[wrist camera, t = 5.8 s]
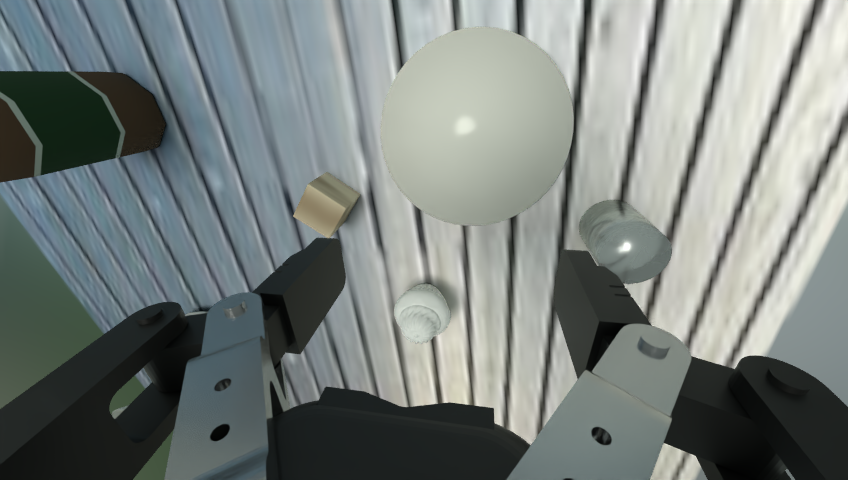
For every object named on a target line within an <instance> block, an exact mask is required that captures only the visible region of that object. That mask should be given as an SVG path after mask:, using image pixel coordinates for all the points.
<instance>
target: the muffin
mask: <svg viewBox="0 0 848 480" xmlns="http://www.w3.org/2000/svg"><path fill="white" fill-rule="evenodd" d="M394 316H395V319H396V321H397V323H398V325H399V326H400V327H401V332H402V334H403V335H404V337H405V338H406V339H408V340H409V341H410V342H415V344H417V343H420V344H422V343H423V342H425V343H427V342H428V340H431V339H432V338H433V337H434V336H436V335H438V334H440V333H442V332H443V331H444V330H445V329H446V328H447V326H448V325H449V322H450V318H451V313H450V310H449V307H448V305H447V302H446V300H445V298H444V297H443V295H442V294H441V293H440V291H439V290H438V289H437V288H436V287H435V286H433V285H430V284H427V283H426V284H425V283H424V284H419V285H417V286H415V287H413V288H411V289H409V290H407V291H406V292H405V293H404V294H403V295H402V296H401V297H400V298H399V299H398V301H397V303H396V305H395V308H394Z"/></svg>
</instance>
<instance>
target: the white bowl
mask: <svg viewBox="0 0 848 480" xmlns="http://www.w3.org/2000/svg"><path fill="white" fill-rule="evenodd" d="M573 124H574V116H573V107H572V101H571V97H570V93H569V89H568V87H567V85H566V82H565V80H564V78H563V76H562V74H561V72H560V71H559V69H558V67H557V66H556V64H555V63H554V62H553V61H552V60H551V58H550V57H549V56H548V55H547V54H546V53H545V52H544V51H543V50H542V49H541V48H539V47H538V46H537V45H536V44H534V43H533V42H531V41H530V40H528V39H526V38H525V37H523V36H521V35H518V34H516V33H513V32H511V31H507V30H503V29H499V28H491V27H473V28H465V29H461V30H456V31H452V32H450V33H447V34H445V35H442V36H440V37H438V38H436V39H435V40H433V41H431V42H429V43H428V44H426V45H425V46H424V47H422V48H421V49H420V50H419V51H417V52H416V53H415V54H414V55H413V56H412V57H411V58H410V59H409V60H408V61H407V62H406V63H405V65H404V66H403V67H402V69H401V70H400V71H399V73H398V74H397V76H396V78H395V80H394V81H393V83H392V85H391V87H390V89H389V92H388V94H387V97H386V100H385V104H384V108H383V112H382V119H381V143H382V150H383V154H384V159H385V162H386V165H387V167H388V170H389V172H390V174H391V176H392V178H393V180H394V182H395V183H396V185H397V186H398V188H399V189H400V191H401V192H402V193H403V194H404V195H405V196H406V197H407V199H408V200H410V201H411V202H412V203H413V204H414V205H415V206H416V207H418V208H419V209H421V210H422V211H423V212H425V213H427V214H429V215H431V216H432V217H434V218H437V219H439V220H442V221H445V222H449V223H452V224H458V225H465V226H479V225H488V224H493V223H497V222H500V221H503V220H506V219H509V218H511V217H513V216H515V215H518V214H520V213H521V212H523V211H524V210H526V209H528V208H529V207H530V206H532V205H533V204H534V203H535V202H537V201H538V200H539V199H540V198H541V197H542V196H543V195H544V194H545V193H546V192H547V191H548V190H549V188H550V187H551V186H552V184H553V183H554V182H555V181H556V179H557V177H558V176H559V174H560V172H561V170H562V169H563V166H564V164H565V162H566V159H567V157H568V154H569V150H570V147H571V142H572V136H573Z"/></svg>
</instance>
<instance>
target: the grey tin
mask: <svg viewBox="0 0 848 480" xmlns="http://www.w3.org/2000/svg"><path fill="white" fill-rule="evenodd" d="M579 232H580V235H581V237H582V239H583V241H584V242H585V244H586V246H587V247H588V249H589V251H590V252H591V254H592V256H593V257H594V259H595V261H596V262H597V264H598V266H605V267H606V268H608V269H609V270H610V271H612V272H613V273H615V274H616V275H617V276H618V277H619V278H620V280H621V281H622V283H625V284H633V283H639V282H643V281H646V280H648V279H651V278H653V277H654V276H656V275H657V274H659V273H660V272H661V271H662V270H663V269H664V268H665V267H666V266H667V264H668V263H669V261H670V258H671V254H672V248H671V244H670V242H669V240H668V239H667V237H666V236H665V235H663V234H662V233H661V232H660V231H659V230H658V229H657V228H656V227H655V226H653V225H652V224H651V223H650V222H649V221H648V220H647V219H646V218H644V217H643V216H642V215H641V214H640V213H639V212H638V211H637V210H636V209H634V208H633V207H632V206H631V205H630V204H628V203H626V202H624V201H621V200H606V201H602V202H599V203H597V204H595V205H593V206H592V207H591V208H589V209H588V210H587V211H586V212H585V213H584V215H583V216H582V218H581V220H580V224H579Z"/></svg>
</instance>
